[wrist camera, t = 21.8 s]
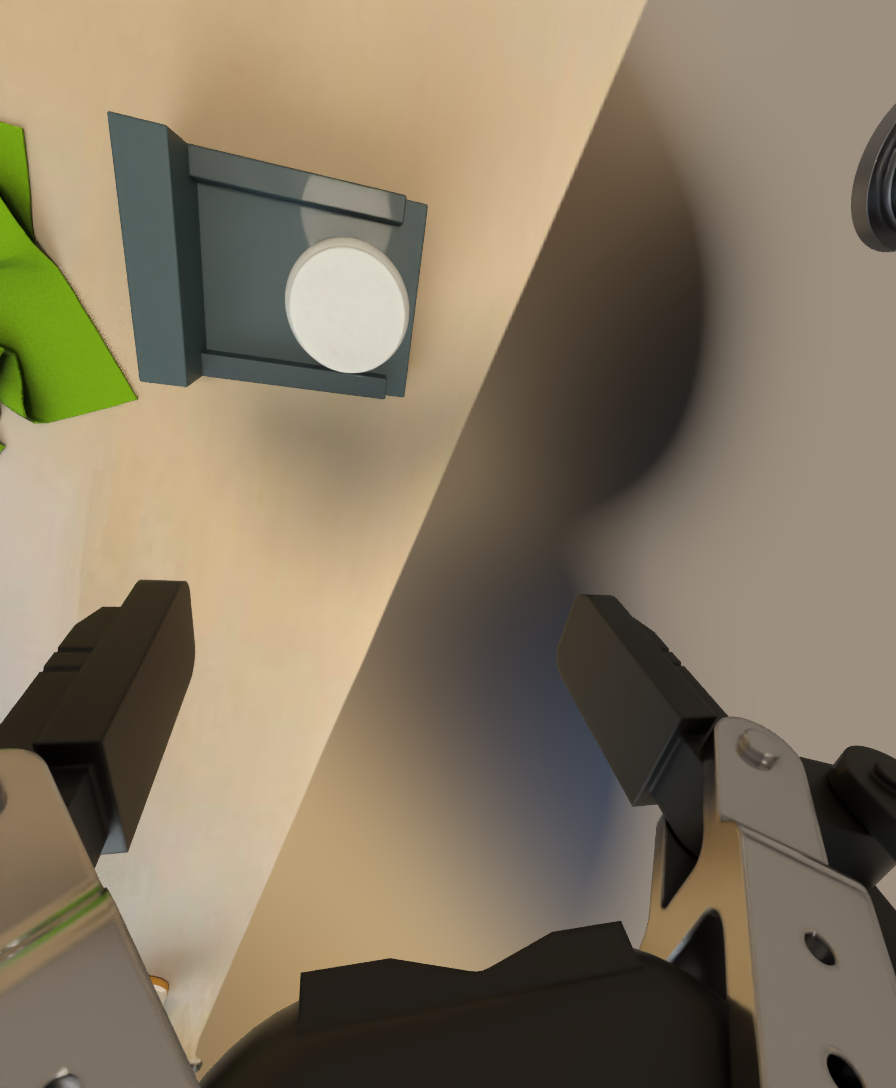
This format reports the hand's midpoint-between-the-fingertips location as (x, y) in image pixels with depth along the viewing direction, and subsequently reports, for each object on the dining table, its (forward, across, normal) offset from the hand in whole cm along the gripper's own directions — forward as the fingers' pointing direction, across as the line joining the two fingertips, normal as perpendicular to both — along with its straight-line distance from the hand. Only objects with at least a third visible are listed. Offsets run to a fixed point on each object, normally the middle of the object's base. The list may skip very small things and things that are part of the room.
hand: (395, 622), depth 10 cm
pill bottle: (+27, +1, -5) cm, 28 cm away
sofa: (+30, +4, -5) cm, 31 cm away
